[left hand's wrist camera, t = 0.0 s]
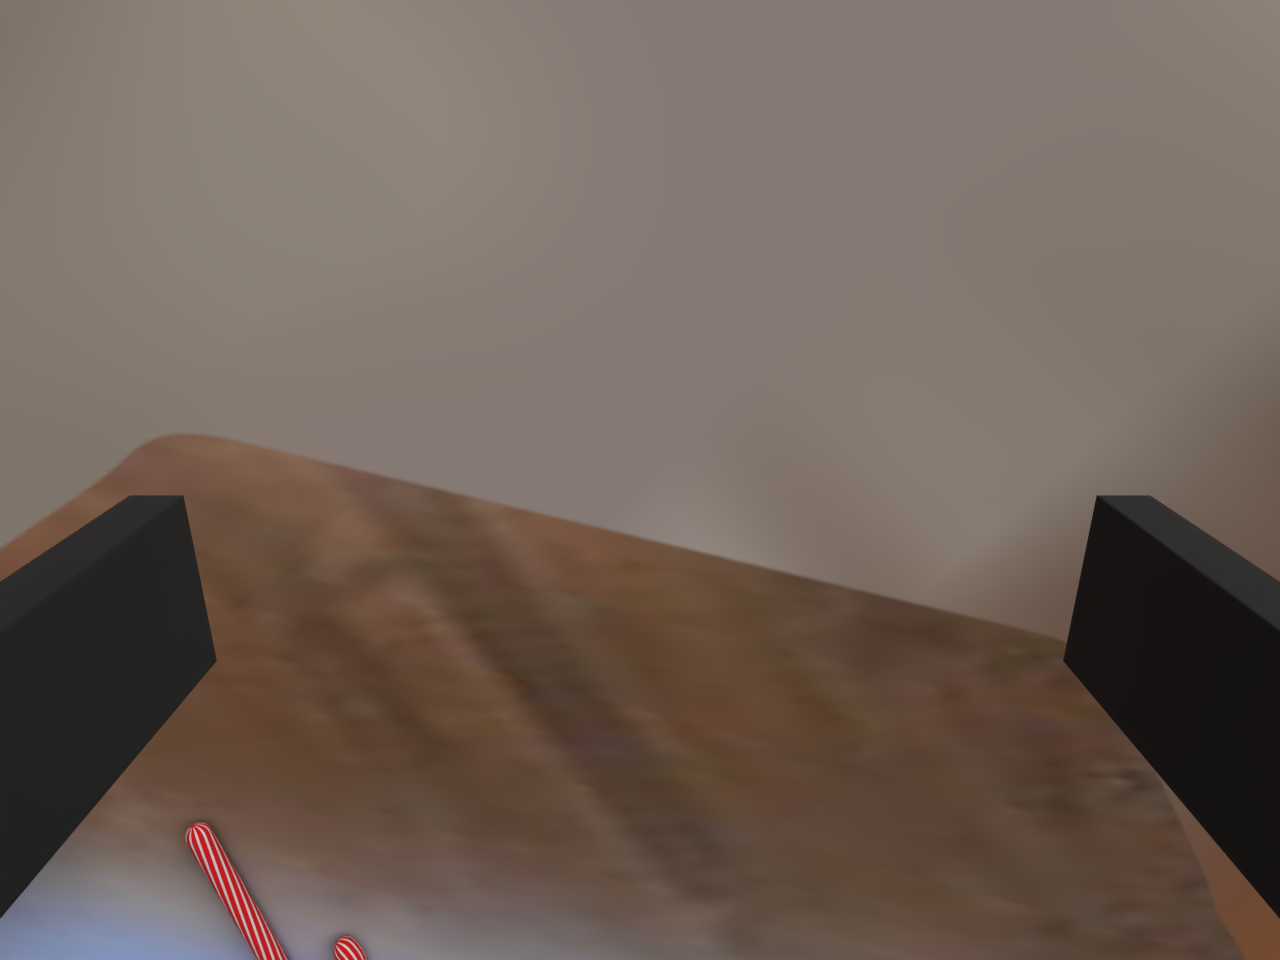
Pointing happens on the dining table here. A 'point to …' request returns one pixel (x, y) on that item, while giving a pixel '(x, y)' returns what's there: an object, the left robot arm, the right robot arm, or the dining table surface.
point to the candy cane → (247, 899)
